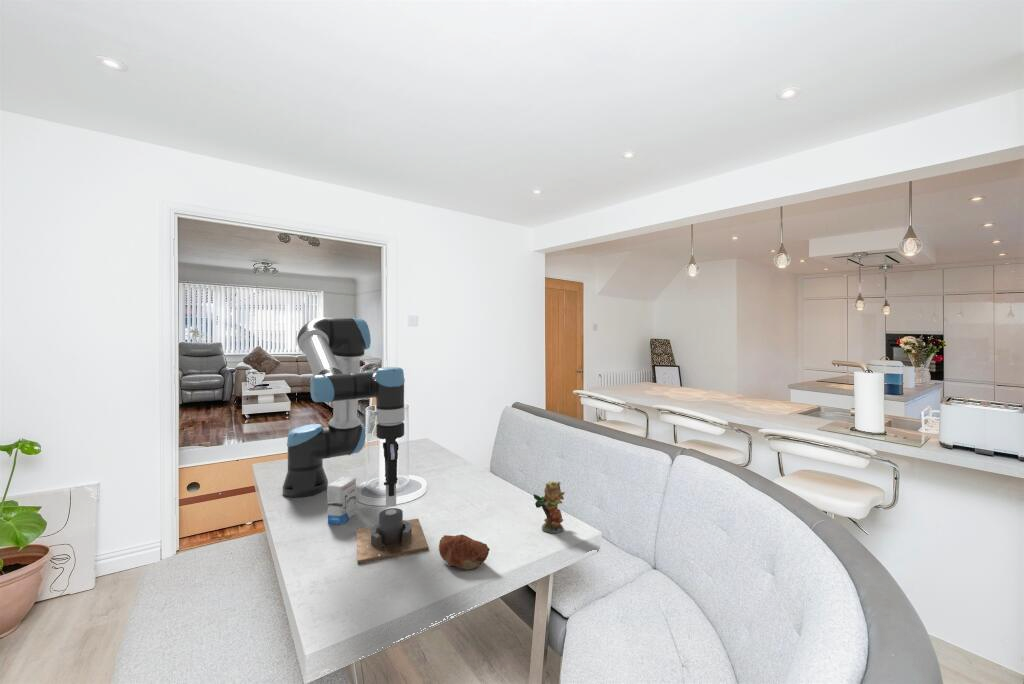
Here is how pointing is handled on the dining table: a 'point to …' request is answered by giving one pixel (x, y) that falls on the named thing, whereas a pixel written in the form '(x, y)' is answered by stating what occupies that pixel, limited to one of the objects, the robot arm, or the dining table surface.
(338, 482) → the ink box
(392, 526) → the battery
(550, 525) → the figurine
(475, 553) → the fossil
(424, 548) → the brown cardboard plate
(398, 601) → the dining table surface
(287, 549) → the dining table surface
